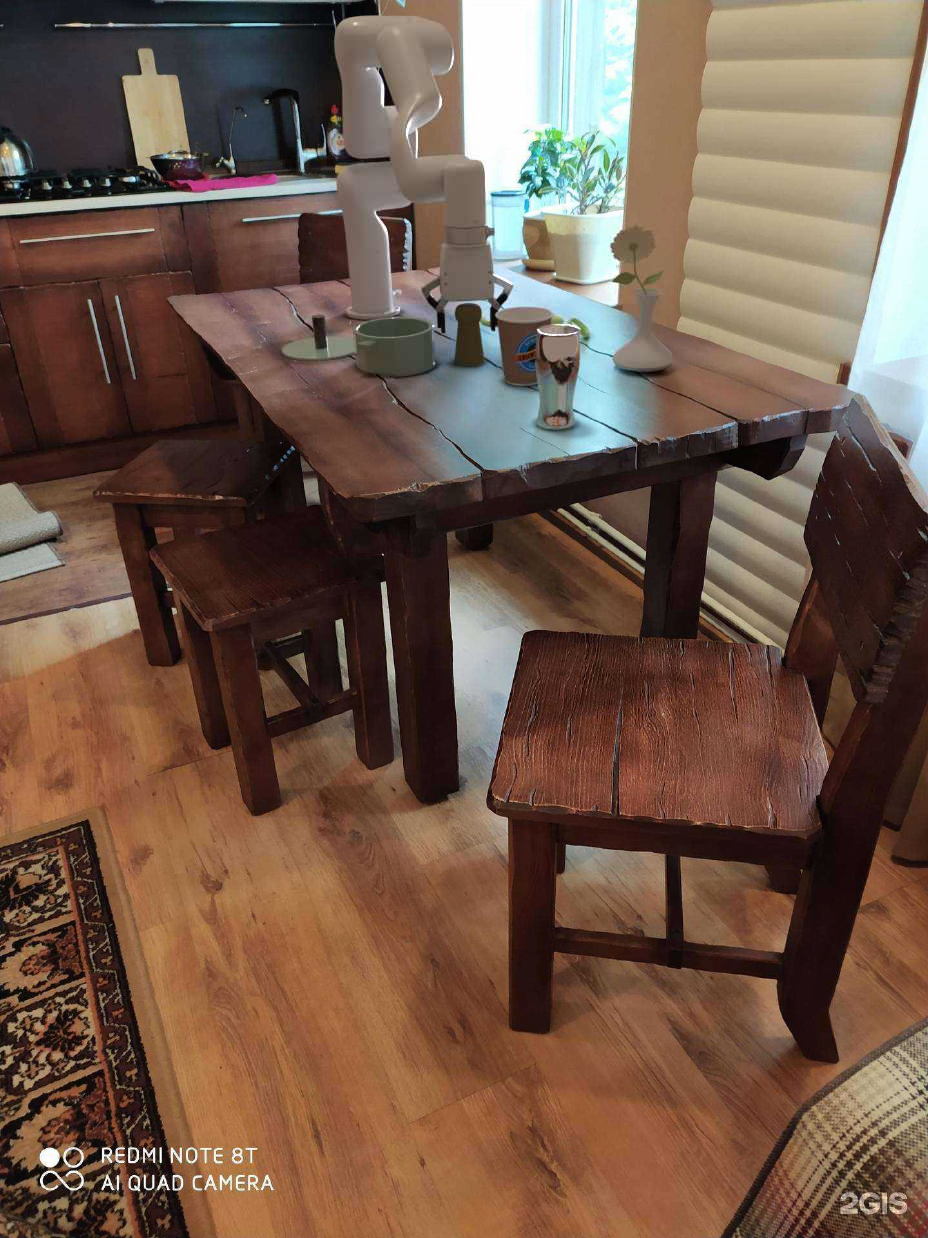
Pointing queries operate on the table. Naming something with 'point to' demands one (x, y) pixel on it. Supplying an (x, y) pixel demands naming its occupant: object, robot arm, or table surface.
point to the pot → (395, 346)
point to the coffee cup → (520, 342)
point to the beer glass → (557, 374)
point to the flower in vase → (640, 304)
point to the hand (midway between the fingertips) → (467, 330)
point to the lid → (319, 345)
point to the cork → (468, 335)
